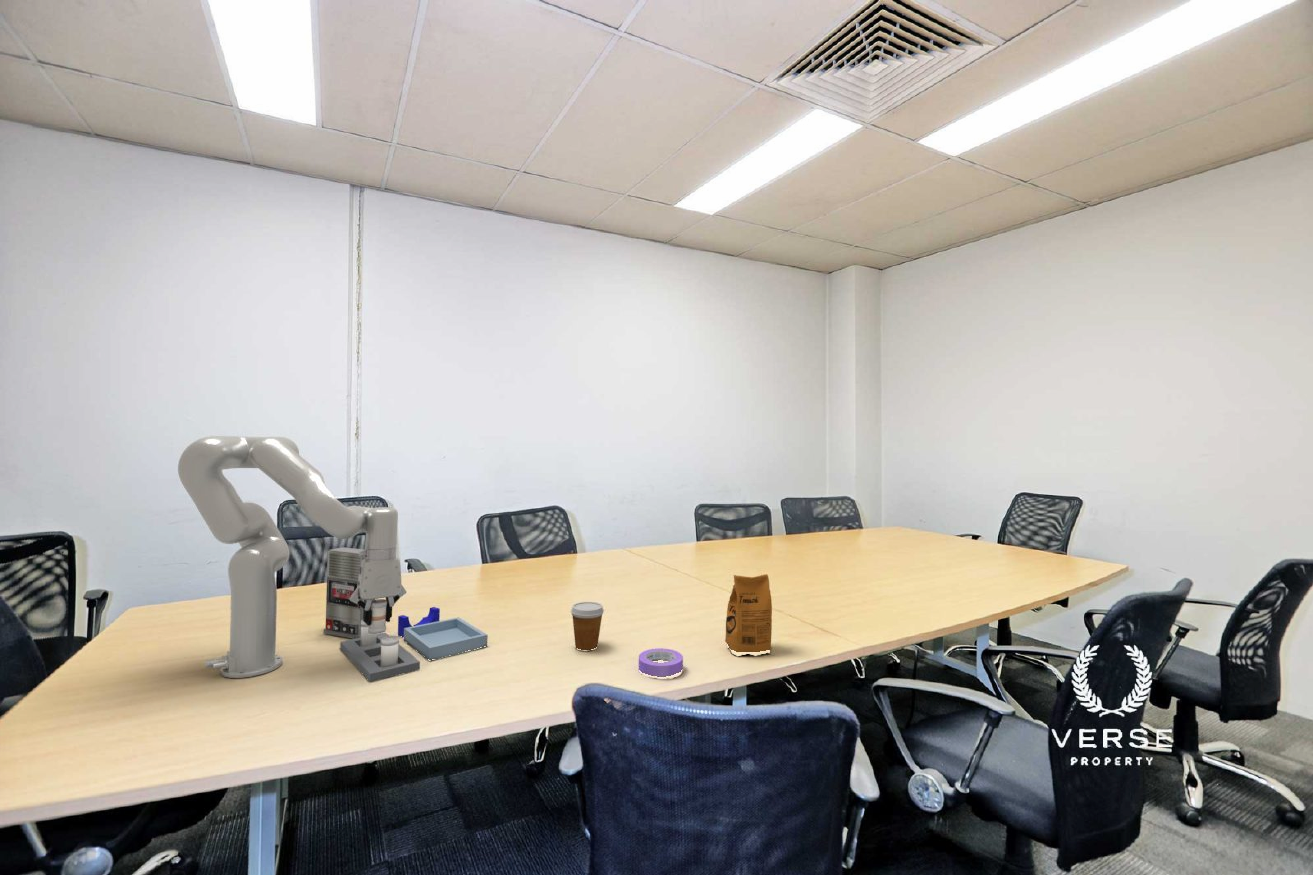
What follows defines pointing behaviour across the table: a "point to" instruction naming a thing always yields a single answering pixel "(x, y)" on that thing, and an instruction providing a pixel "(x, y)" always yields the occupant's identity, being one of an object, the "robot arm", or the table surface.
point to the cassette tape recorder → (343, 593)
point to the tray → (444, 638)
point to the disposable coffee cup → (586, 624)
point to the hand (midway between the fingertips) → (377, 621)
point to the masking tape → (657, 668)
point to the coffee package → (749, 615)
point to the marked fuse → (378, 616)
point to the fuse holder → (377, 659)
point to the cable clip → (432, 617)
